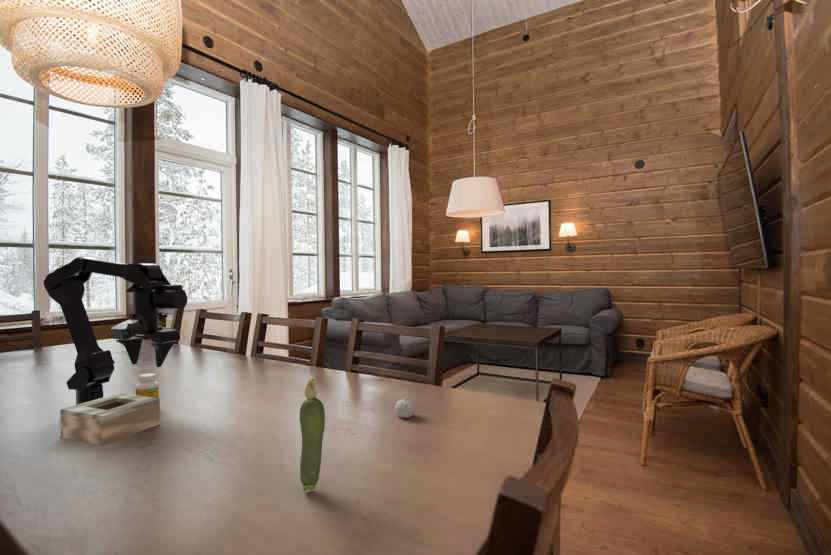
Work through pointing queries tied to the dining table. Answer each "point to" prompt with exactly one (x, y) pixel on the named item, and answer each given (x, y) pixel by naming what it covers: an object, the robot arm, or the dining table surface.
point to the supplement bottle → (147, 386)
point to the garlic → (405, 408)
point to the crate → (109, 418)
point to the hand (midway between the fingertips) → (146, 365)
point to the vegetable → (311, 437)
